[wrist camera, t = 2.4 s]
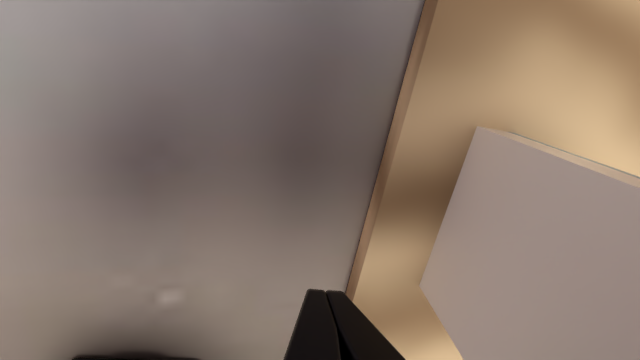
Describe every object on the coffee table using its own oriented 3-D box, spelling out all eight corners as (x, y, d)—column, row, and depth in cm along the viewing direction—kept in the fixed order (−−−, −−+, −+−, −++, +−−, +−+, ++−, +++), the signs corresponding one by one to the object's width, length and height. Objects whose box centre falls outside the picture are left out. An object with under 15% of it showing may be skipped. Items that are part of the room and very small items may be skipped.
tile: (452, 288, 16) (632, 534, 8) (419, 285, 16) (571, 538, 8) (515, 133, 14) (884, 262, 5) (477, 125, 13) (806, 252, 5)
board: (565, 362, 22) (581, 379, 20) (329, 353, 19) (332, 372, 18) (764, 37, 15) (803, 36, 14) (441, -59, 12) (458, -70, 11)
